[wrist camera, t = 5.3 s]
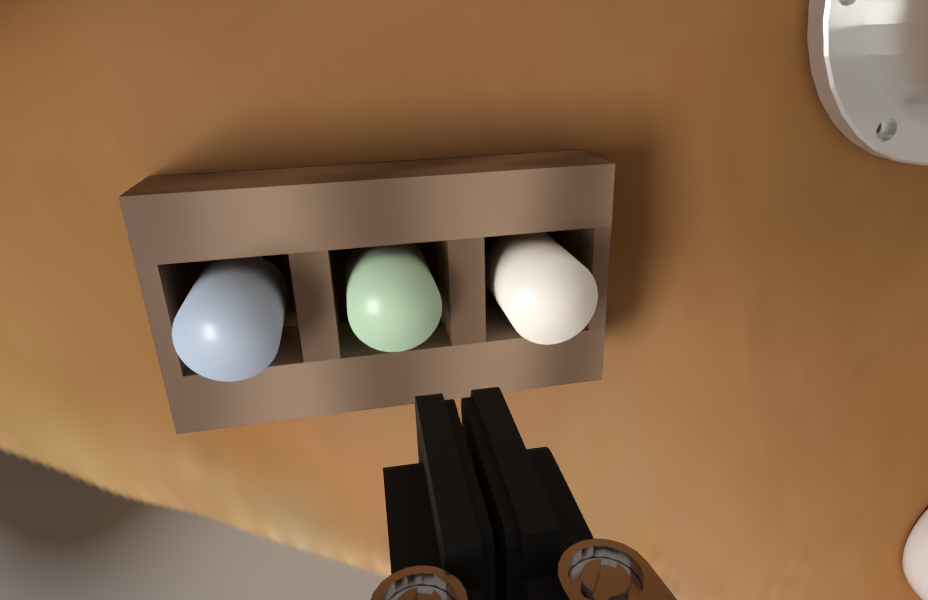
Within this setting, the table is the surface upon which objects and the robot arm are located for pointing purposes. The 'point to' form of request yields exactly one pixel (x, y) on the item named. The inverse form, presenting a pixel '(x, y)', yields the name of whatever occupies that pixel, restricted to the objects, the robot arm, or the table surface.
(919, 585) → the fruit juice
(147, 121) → the table surface
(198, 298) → the slate blue button
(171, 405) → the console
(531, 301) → the cream button
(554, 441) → the table surface
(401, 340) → the sage button
